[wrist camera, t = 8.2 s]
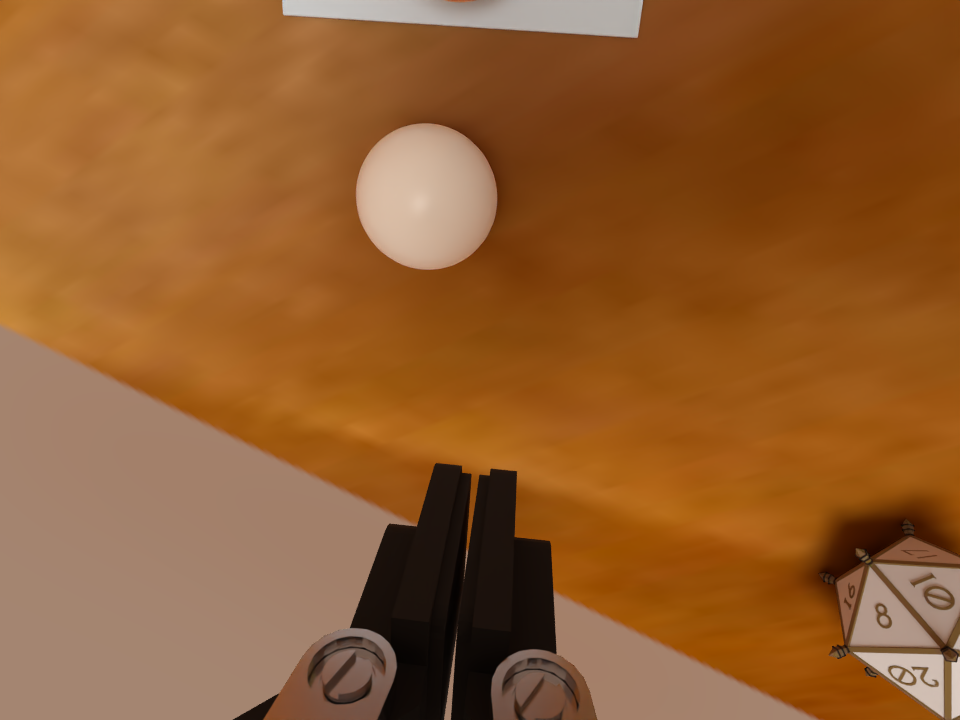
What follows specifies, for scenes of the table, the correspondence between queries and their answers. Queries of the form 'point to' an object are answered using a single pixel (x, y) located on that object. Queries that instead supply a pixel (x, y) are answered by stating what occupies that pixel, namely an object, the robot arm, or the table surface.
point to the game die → (905, 619)
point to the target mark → (487, 14)
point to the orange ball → (460, 0)
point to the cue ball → (426, 196)
